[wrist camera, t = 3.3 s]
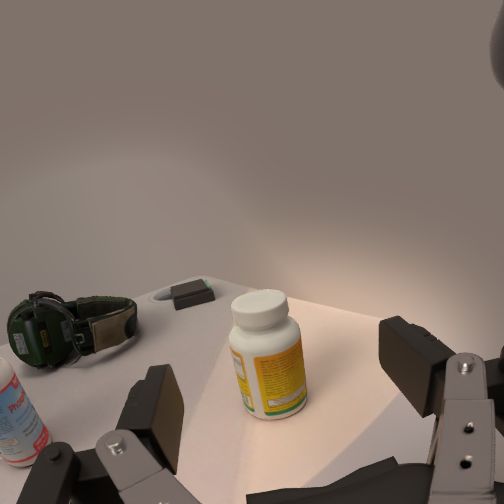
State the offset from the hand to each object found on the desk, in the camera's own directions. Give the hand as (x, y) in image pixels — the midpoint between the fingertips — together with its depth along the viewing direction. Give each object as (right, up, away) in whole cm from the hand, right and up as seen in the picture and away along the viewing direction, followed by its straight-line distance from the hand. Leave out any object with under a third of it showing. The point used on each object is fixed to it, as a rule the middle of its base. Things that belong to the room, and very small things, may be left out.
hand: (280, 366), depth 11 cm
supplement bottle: (+1, -9, +14) cm, 16 cm away
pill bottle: (-22, -14, +8) cm, 27 cm away
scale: (-11, -4, +42) cm, 44 cm away
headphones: (-26, -10, +28) cm, 39 cm away
